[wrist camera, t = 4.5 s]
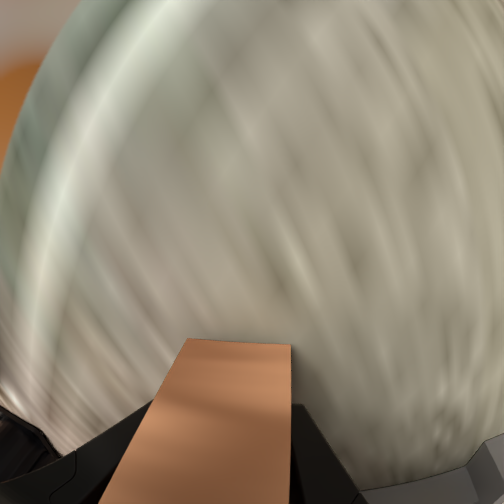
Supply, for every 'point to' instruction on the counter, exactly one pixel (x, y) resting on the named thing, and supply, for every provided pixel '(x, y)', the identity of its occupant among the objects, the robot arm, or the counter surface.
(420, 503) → the socket cradle
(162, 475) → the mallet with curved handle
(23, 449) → the robot arm
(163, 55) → the counter surface
